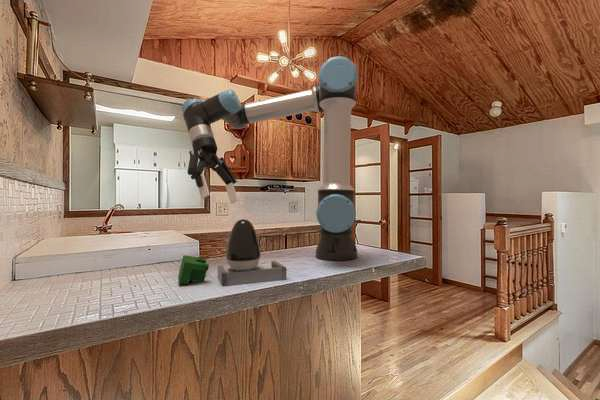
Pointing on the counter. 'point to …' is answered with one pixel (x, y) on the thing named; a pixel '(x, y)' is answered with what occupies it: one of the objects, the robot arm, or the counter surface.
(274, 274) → the bracket
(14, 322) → the counter surface
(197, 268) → the green stepped block
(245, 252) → the dark rounded piece
